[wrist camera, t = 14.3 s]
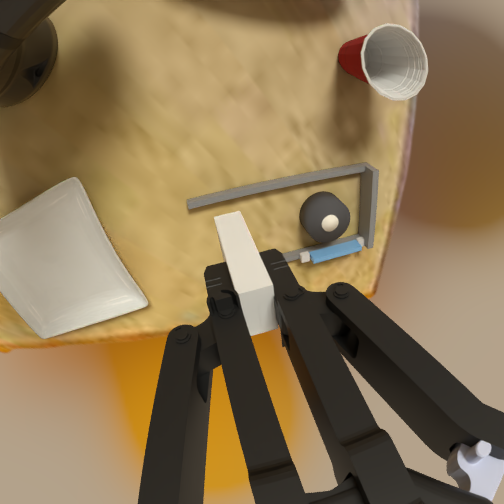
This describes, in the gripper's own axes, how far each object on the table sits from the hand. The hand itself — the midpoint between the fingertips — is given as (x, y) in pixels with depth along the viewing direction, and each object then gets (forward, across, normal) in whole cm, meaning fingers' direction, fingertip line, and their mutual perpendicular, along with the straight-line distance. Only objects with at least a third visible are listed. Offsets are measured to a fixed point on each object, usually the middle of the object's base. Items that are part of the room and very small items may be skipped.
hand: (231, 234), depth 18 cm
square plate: (+31, -30, -16) cm, 46 cm away
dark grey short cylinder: (+30, +19, -19) cm, 40 cm away
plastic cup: (+31, +26, +8) cm, 41 cm away
